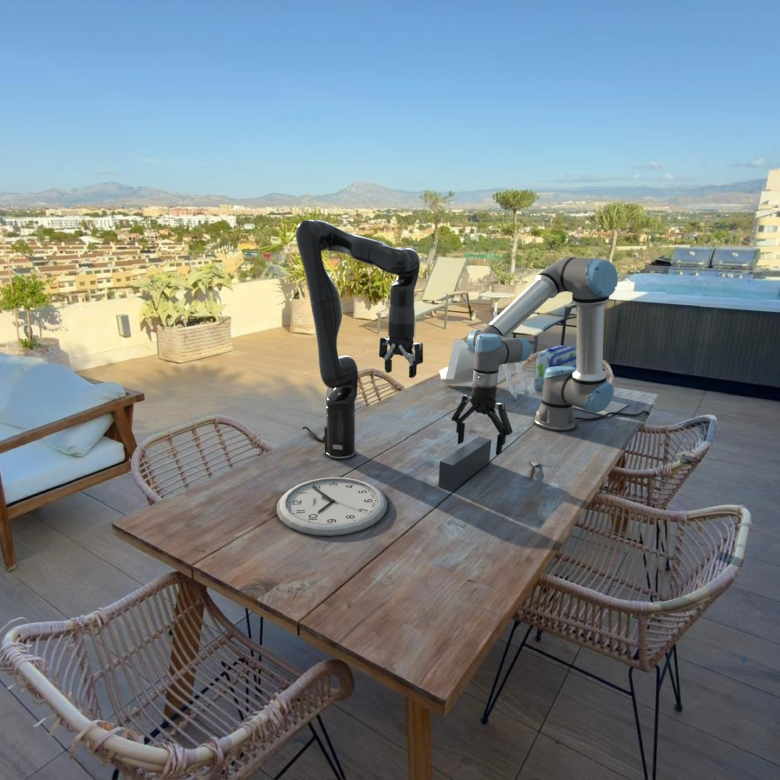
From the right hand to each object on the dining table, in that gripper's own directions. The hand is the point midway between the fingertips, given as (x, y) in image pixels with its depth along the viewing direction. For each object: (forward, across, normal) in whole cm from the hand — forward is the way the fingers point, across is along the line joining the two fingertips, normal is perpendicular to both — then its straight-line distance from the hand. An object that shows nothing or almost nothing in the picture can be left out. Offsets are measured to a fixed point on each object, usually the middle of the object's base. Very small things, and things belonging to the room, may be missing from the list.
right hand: (479, 448), depth 167 cm
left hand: (-25, -18, -20) cm, 37 cm away
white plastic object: (+5, -36, +70) cm, 79 cm away
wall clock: (+7, -19, -48) cm, 52 cm away
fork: (+6, +16, +8) cm, 18 cm away
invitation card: (+4, +15, +86) cm, 87 cm away
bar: (+6, 0, -8) cm, 10 cm away
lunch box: (+4, -10, +96) cm, 96 cm away
